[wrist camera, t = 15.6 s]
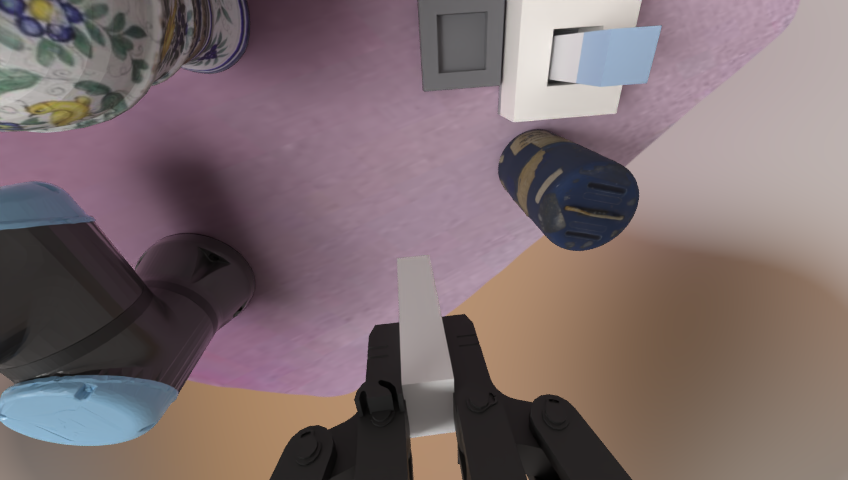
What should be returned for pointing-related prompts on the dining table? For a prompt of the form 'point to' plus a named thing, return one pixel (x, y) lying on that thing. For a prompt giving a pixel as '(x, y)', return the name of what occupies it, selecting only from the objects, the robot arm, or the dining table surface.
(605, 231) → the canister
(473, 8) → the gray recessed square plate
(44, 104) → the vase
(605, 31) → the plug
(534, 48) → the block
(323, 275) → the dining table surface
